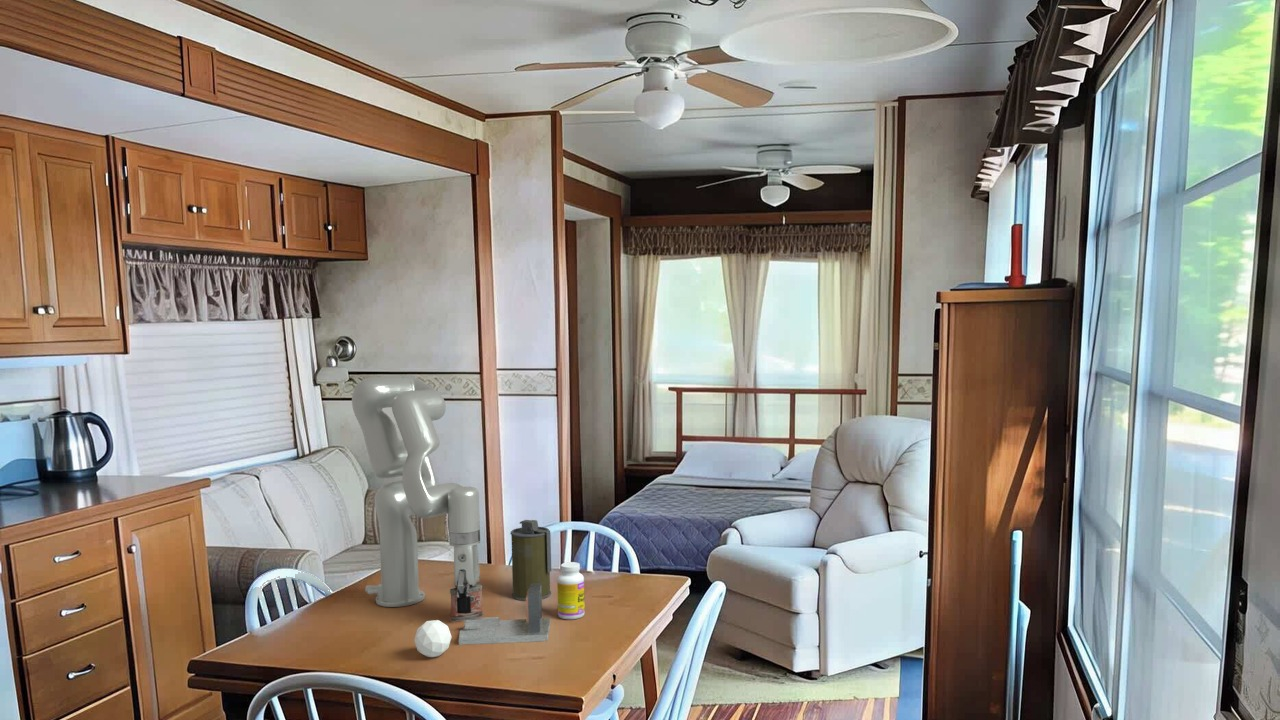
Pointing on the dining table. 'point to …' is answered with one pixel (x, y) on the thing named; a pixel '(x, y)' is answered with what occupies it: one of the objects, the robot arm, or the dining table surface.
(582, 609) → the supplement bottle
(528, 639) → the finger rail
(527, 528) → the canister
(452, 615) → the lighter
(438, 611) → the dining table surface
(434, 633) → the geometric ball
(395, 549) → the robot arm
